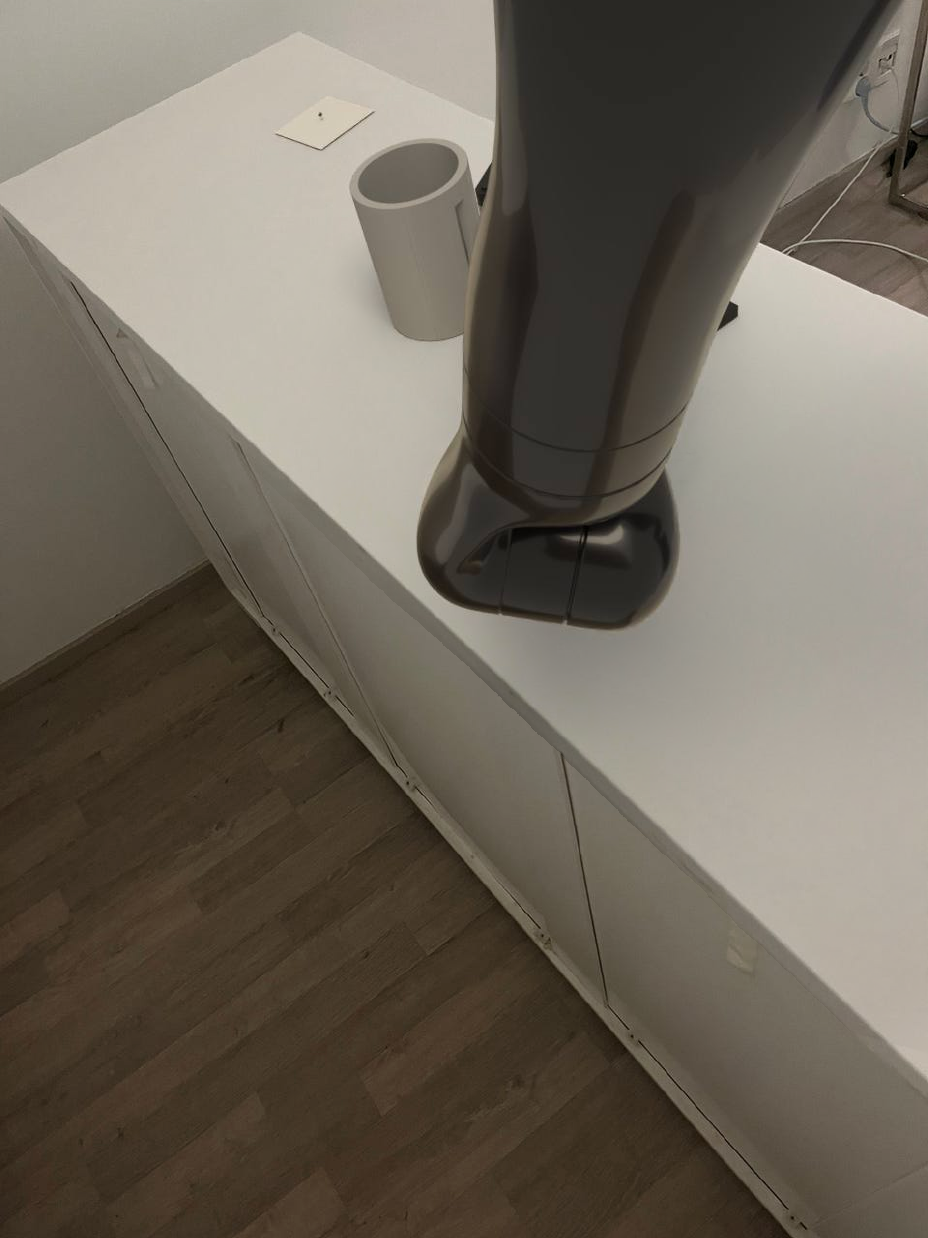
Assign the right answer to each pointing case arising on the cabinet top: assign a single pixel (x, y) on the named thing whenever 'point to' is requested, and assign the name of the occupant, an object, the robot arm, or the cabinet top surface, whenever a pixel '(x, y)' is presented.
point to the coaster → (324, 122)
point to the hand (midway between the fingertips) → (614, 103)
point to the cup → (419, 232)
